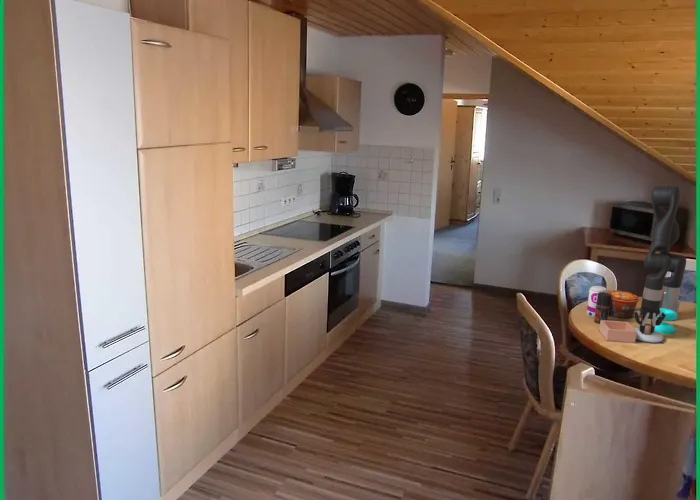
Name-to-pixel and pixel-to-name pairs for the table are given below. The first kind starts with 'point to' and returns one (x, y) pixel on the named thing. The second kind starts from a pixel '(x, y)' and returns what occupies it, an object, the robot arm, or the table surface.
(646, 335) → the lid
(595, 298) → the supplement can
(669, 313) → the donuts
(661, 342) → the mat
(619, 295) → the food container
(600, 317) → the deodorant
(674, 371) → the table surface
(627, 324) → the dish
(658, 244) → the robot arm
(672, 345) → the table surface
